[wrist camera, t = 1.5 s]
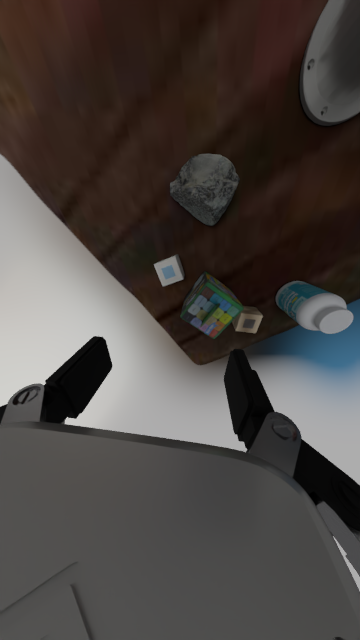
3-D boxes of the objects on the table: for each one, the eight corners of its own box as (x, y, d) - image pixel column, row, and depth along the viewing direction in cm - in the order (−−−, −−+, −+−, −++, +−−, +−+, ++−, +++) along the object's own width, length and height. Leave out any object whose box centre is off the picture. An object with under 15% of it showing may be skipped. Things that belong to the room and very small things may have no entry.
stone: (180, 212, 22) (244, 151, 18) (158, 175, 25) (208, 116, 21) (202, 247, 30) (249, 209, 26) (183, 216, 33) (223, 178, 29)
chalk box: (210, 316, 41) (215, 351, 28) (183, 298, 39) (176, 326, 26) (233, 290, 37) (253, 317, 24) (205, 269, 35) (209, 285, 22)
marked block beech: (255, 307, 38) (263, 316, 34) (249, 323, 41) (256, 333, 36) (236, 304, 38) (241, 313, 34) (231, 321, 41) (235, 331, 36)
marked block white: (178, 254, 34) (175, 256, 29) (184, 274, 36) (183, 279, 31) (159, 261, 35) (153, 264, 31) (166, 281, 37) (162, 286, 33)
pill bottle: (275, 283, 35) (314, 305, 23) (310, 276, 33) (372, 296, 21) (273, 311, 38) (307, 342, 26) (305, 306, 36) (356, 337, 25)
